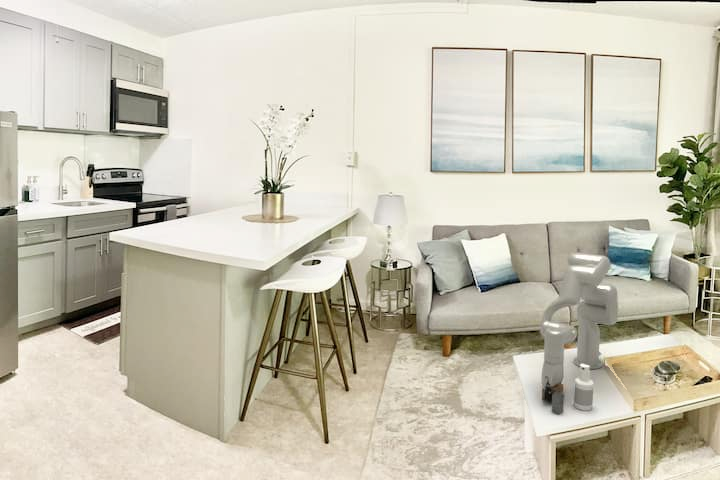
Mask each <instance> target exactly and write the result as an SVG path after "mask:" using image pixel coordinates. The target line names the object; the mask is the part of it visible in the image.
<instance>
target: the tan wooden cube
mask: <svg viewBox="0 0 720 480" xmlns="http://www.w3.org/2000/svg"><path fill="white" fill-rule="evenodd" d="M541 384H542V383H541ZM542 385H543V384H542ZM542 385H541V386H542ZM548 385H550V384H549V383H548ZM547 388H548V389H549V390H550V387H549V386H547ZM541 389H542V390H541V400H542V401H543V400H544V401H543V402H546V403H548V402H549V401H546V400H545V399H544V395H545V391H544V389H543V388H542V387H541ZM555 392H559V393H561V394H564V383H562V382H561V383H558V384H557V385H555V386H553V388H552V392H551V393H555ZM549 404H551V405H552V402H549Z"/></svg>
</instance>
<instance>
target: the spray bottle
mask: <svg viewBox="0 0 720 480" xmlns="http://www.w3.org/2000/svg"><path fill="white" fill-rule="evenodd" d="M589 368H590V366H589V365H585V364H580V367H579V370H578V371H579V372H578V377H576V378H575V379H574V388H573V389H574V390H573V391H574V392H573V393H574V395H573V406H574V408H575V409H578V410H579V411H587V412H588V411H591V410H593V403H594V401H593V400H594V381H593V380H592V379H591V376H590V375H591V371H590V370H591V369H589Z"/></svg>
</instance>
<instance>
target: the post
mask: <svg viewBox="0 0 720 480" xmlns="http://www.w3.org/2000/svg"><path fill="white" fill-rule="evenodd" d="M564 397H565V394H564V393H563V394H561V393H559V392H555V393H553V394H552V404H551V412H552V413H554V414H556V415H561V414H562V413H564V405H565V404H564V403H565V401H564V400H565V398H564Z"/></svg>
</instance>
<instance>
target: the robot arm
mask: <svg viewBox="0 0 720 480" xmlns="http://www.w3.org/2000/svg"><path fill="white" fill-rule="evenodd" d="M567 263H568V266H566V267H565V269H564V273H563V277H562V280H561V286H560V290H559V294H558V297H557V298H556V299H555V300H554V301H551V303H550V304H549V305H547V307H546V308H545V310H544V312H543V314H542V318H541V322H540V327H539V333H540V335H541V336H542V337H543V338H544V348H543V350H544V352H543V364H542V371H541V384H543V385H541V389H542V388H543V389H544V391H545V395H544V399H545V400H546V401H549V402H552V394H553V393H551V392H552V388H553V386H555V385H557V384H558V383H561V384H562V383H563V379H564V371H565V370H564V362H565V361H564V360H565V359H564V358H565V357H564V356H565V345H566V344H570V343H572V342H574V341H575V340H576V339H577V346H576V347H577V348H576V349H577V351H576V353H577V354H576V356H575V357H574V358H573V360H572V361H573V364H574V365H575V366H577V367H579V368H580V364H585V365H589V366H590V368H589V370H596V369H597V370H598V369H600V368H602V366H603V363H602V361H601V360H599V359H600V356H601V355H602V352H601V351H600V338H601V330H600V327H599V325H598V324H602V325H606V326H608V325H609V326H613V325H615V324H616V323H617V322H618V320H619V319H618V318H619V295H618V289H617V288H616V286H615V285H613V284H611V283H604V282H603V281H604V279H605V278H606V276H607V275H608V273H609V271H610V269H611V260H610V258H609V257H608V256H606V255H601V254H591V253H584V252H572V253H569V254H568V256H567ZM581 300H582V301H581ZM573 306H577V307H576V313H577V314H576V315H577V322H578V323H577V324H578V327H577V328H578V329H577V328H576V326H574V325H571V324H567V323H563V322H558V321H553V320H552V318H553V315H555V313H556V312H558V311H559V310H561V309H564V308H570V307H573ZM577 331H578V332H577ZM548 383H549V384H550V385H548ZM547 386H549V387H550V390H549V389H548V388H547ZM546 401H545V402H546Z"/></svg>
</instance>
